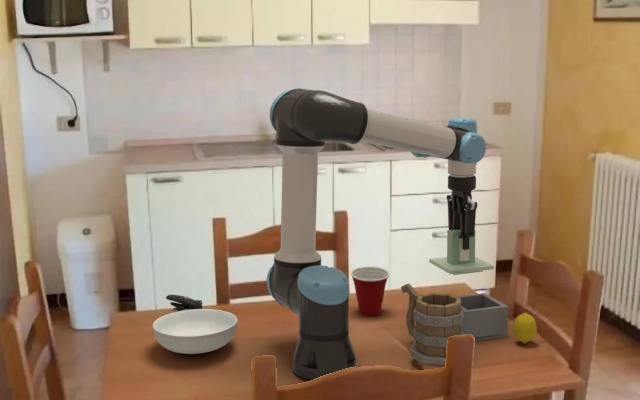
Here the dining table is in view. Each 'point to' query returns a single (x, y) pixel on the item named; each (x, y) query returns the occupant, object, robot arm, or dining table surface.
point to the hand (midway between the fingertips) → (460, 258)
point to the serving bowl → (195, 330)
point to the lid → (452, 259)
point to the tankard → (432, 324)
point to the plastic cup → (369, 288)
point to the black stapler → (184, 302)
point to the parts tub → (484, 317)
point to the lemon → (525, 328)
